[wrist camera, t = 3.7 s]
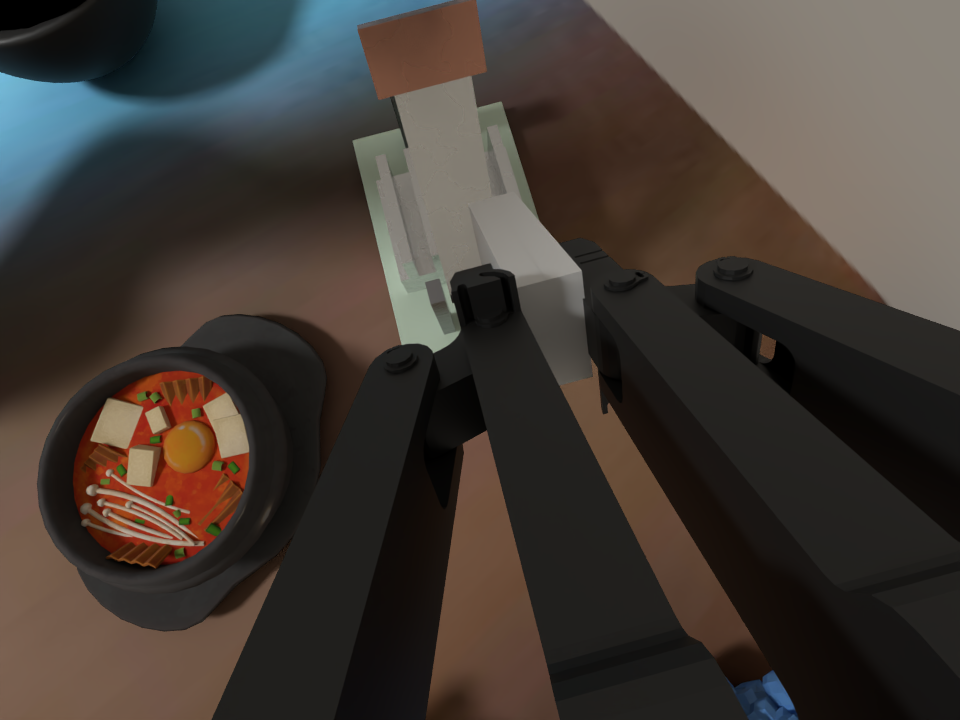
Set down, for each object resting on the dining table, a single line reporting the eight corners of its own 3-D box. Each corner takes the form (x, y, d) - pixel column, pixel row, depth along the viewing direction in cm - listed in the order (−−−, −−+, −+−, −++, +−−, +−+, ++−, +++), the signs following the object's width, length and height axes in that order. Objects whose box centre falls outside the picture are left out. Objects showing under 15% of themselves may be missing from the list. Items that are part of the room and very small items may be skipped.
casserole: (240, 665, 37) (167, 726, 29) (43, 558, 39) (-78, 586, 31) (384, 371, 41) (356, 351, 33) (198, 288, 43) (128, 249, 35)
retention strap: (515, 279, 35) (519, 288, 34) (439, 299, 35) (441, 309, 34) (471, -5, 23) (475, -1, 22) (357, 25, 23) (357, 29, 22)
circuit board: (570, 330, 41) (572, 326, 40) (410, 373, 41) (408, 371, 40) (501, 110, 45) (501, 101, 44) (356, 148, 45) (352, 140, 44)
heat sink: (547, 306, 40) (560, 269, 32) (419, 341, 40) (399, 312, 32) (487, 111, 44) (484, 33, 36) (369, 142, 44) (340, 70, 36)
